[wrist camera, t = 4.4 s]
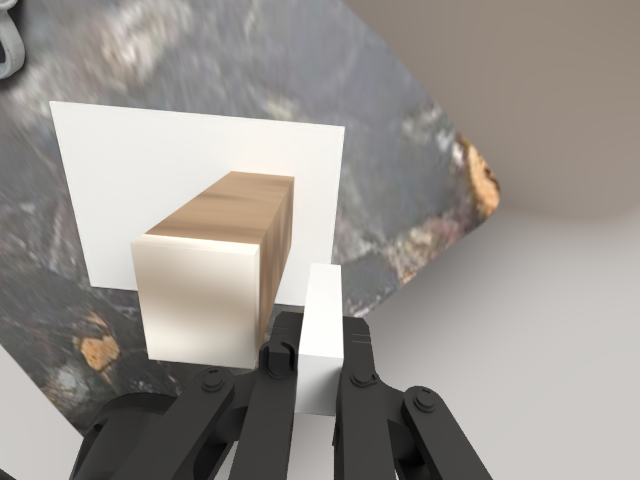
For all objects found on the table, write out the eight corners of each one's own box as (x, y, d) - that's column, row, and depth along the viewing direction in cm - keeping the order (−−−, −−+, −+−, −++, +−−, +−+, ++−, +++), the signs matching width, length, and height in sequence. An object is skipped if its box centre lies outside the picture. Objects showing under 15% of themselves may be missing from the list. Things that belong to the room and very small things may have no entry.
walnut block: (291, 246, 29) (254, 369, 16) (233, 240, 29) (148, 359, 16) (294, 176, 26) (254, 254, 13) (231, 170, 26) (130, 243, 13)
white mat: (325, 305, 31) (325, 308, 31) (93, 284, 31) (91, 286, 31) (344, 126, 25) (344, 127, 24) (53, 101, 25) (48, 101, 25)
